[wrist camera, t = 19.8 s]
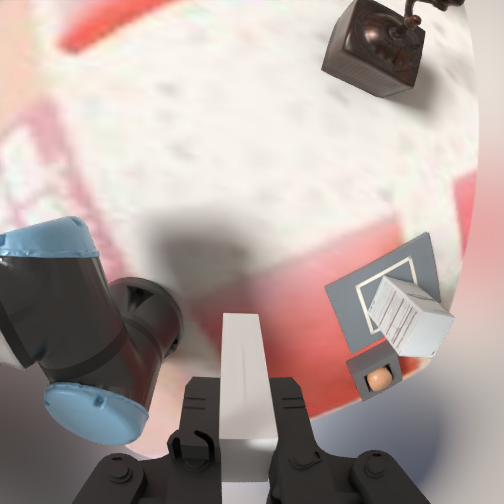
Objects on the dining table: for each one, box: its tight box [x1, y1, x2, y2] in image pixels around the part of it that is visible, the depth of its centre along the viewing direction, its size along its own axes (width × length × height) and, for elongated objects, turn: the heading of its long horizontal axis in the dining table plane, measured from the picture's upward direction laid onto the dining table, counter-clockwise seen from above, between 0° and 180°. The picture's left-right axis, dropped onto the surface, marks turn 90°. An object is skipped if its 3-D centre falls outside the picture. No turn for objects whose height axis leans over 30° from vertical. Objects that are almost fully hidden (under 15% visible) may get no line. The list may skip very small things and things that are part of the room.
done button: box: [365, 366, 392, 391], centre depth 49 cm, size 4×4×4 cm
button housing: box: [346, 340, 403, 401], centre depth 50 cm, size 9×9×4 cm
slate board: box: [325, 232, 441, 353], centre depth 46 cm, size 20×15×1 cm
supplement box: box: [367, 275, 455, 358], centre depth 40 cm, size 7×7×13 cm
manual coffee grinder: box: [321, 0, 465, 98], centre depth 25 cm, size 16×11×18 cm
